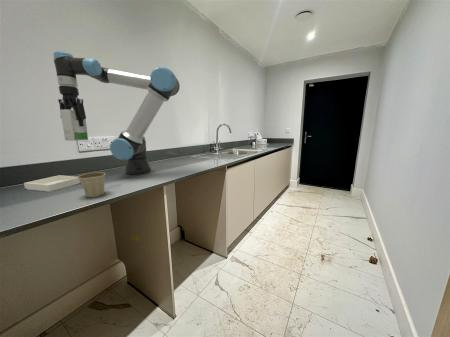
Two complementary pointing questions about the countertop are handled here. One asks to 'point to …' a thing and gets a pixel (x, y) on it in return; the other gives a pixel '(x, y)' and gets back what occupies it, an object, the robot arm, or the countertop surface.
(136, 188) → the countertop surface
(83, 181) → the flower pot
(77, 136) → the skincare box
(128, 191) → the countertop surface
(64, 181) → the tray
